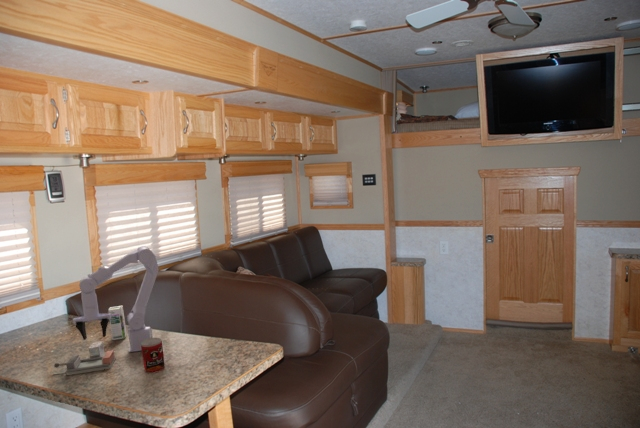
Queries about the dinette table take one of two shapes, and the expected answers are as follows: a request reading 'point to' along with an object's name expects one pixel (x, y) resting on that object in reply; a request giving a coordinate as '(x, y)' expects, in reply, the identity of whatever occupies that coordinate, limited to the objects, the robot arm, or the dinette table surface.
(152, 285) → the robot arm
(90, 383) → the dinette table surface
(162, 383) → the dinette table surface
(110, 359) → the block
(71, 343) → the dinette table surface
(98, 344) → the aluminium block
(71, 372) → the vise base
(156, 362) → the canned food
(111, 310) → the syrup box
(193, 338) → the dinette table surface
